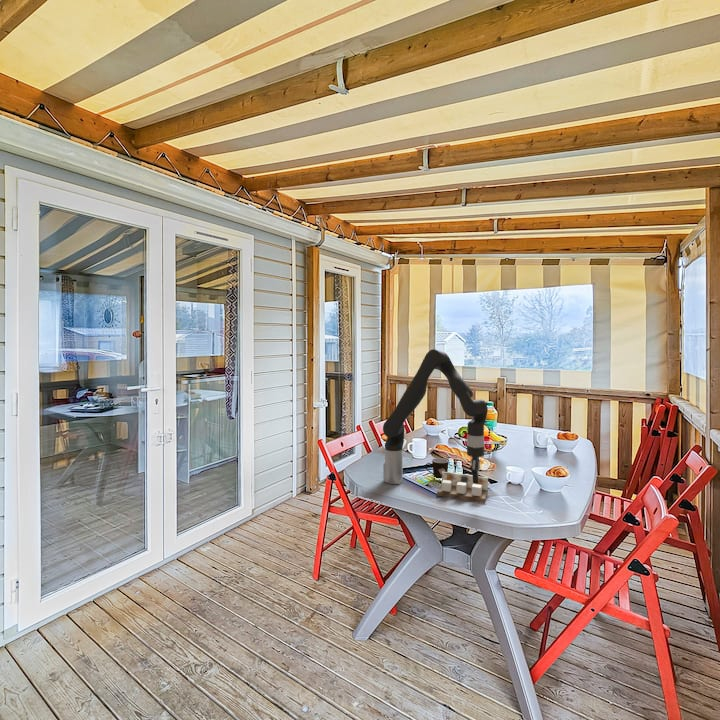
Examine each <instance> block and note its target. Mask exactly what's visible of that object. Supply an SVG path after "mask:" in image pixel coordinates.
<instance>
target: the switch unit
mask: <svg viewBox="0 0 720 720" xmlns="http://www.w3.org/2000/svg"><path fill="white" fill-rule="evenodd" d="M443 480H449V481H452V489H451V491H450V492H447V491H442V483H441V484H440V486H439V487H438V489H437V491H436V496H437V497H443V498H449V499H456V500H461V501H463V500H464V501H469V502H475V503H484V504H486V501H487V499H488V498H487V497H488V494H489V477H488V476H480V475H478V483H473V475H472V474H465V473H456V472H451V471H447V472H443V471H442V481H443ZM442 481H441V482H442ZM458 482H464V483H467V490H466V493H465V494H461V493H456V488H457V483H458ZM473 484H479V485H482V494H481V496H474V495H472V485H473Z"/></svg>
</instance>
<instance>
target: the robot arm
mask: <svg viewBox="0 0 720 720" xmlns="http://www.w3.org/2000/svg"><path fill="white" fill-rule="evenodd" d="M435 370H438V371H439V372H441V373H442V374H443V375H444V376H445V378H446V380H447V381H448V385H449V387H450V389H451V391H452V392H453V393H454V394H455V397H457V399H458V400H459V403H460V405H461V408H462V410H463V412H464V413H465V414H466V415H467V416H468V417H473V418H472V419H471V420H469V421H468V423H467V433H466V434H467V436H466V455H467V456H469V457H471V458H470V462H469V463H470V471H471V472H470V473H471V475H473V483H478V476H479V474H480V469H481V462H482V461H481V460H482V459H481V457H484V456H485V423H486V419H487V417H488V416H487V415H488V411H489V408H488V405H487V402H486V401H485V400H483V399H472V398H473V395H474V392H473V390H472V389H471V388H470V386H469V384H467V382H465V380H464V379H463V378H462V376H461V375H460V374H459V372H458V371H457V369H456V367H455V366H454V364H453V362H452V359H451V358H450V357H449V355H448V354H447V352H445V351H442V350H439V349H435V348H433V349H430V350H429V351H428V352H427V353H426V355H425V356H424V358H423V359H422V362H421V364H420V365H419V368H418V370H417V372H415V375H414V377H412V378H413V379H411V381H410V383H409V384H408V386H407V388H406V389H405V390H404V393H403V394H402V396H401V398H400V399H399V401H398V403H397V405H396V407H395V408H394V410H393V411H392V413H390V415H389V417H388V418H387V419H386V420H385V422H384V423H383V426H382V432H383V434H384V436H385V437H386V440H385V443H384V463H383V468H382V469H383V475H382V476H383V483H386V484H390V485H400V484H402V483H403V473H404V472H403V469H404V468H403V467H404V466H403V464H404V463H403V462H404V461H403V459H404V458H403V454H404V453H403V452H404V451H403V449H404V447H403V445H404V443H405V424H404V423H405V421H406V420H407V418H408V417H409V416H410V415H411V414H412V413H413V412H414V410H415V409H416V408H417V407H418V406H419V405H420V403H421V402H422V400H423V398H424V397H425V395H426V393H427V387H428V381H429V378H430V376H431V375H432V373H433V371H435Z"/></svg>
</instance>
